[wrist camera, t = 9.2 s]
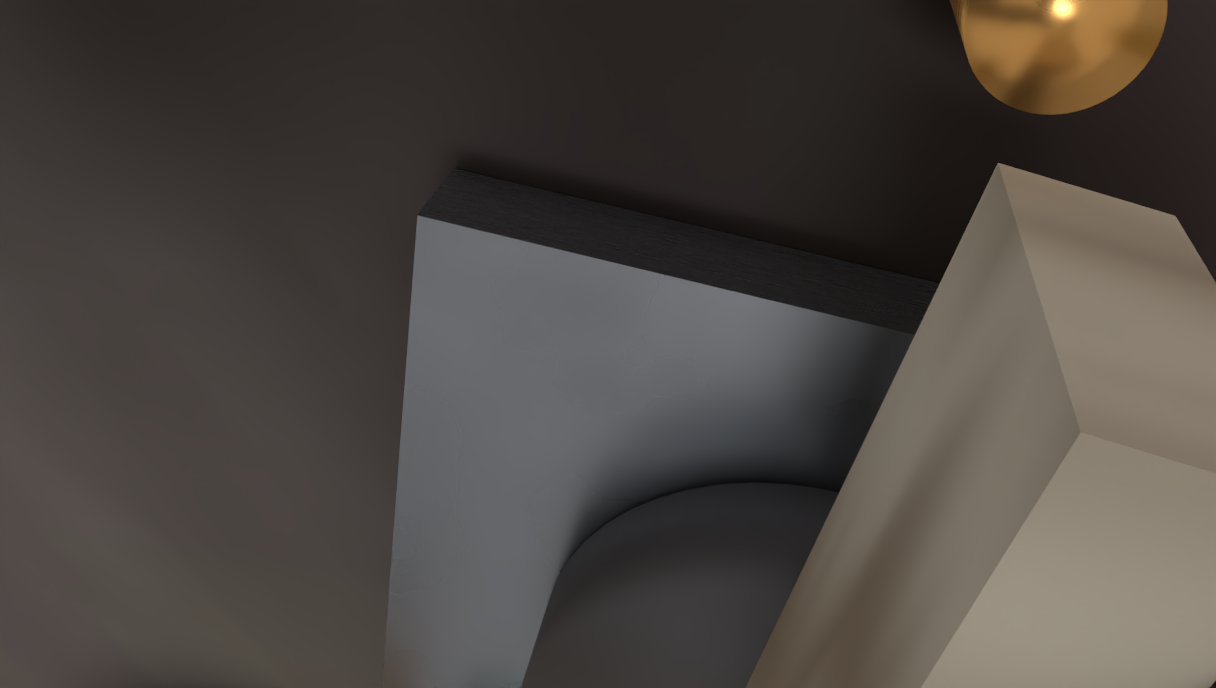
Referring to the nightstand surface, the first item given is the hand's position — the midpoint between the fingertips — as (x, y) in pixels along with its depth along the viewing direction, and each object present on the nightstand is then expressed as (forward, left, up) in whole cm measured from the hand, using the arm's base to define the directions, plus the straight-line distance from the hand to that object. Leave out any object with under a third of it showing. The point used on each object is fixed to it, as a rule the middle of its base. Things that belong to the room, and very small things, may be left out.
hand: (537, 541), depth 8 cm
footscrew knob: (+3, -4, -6) cm, 8 cm away
